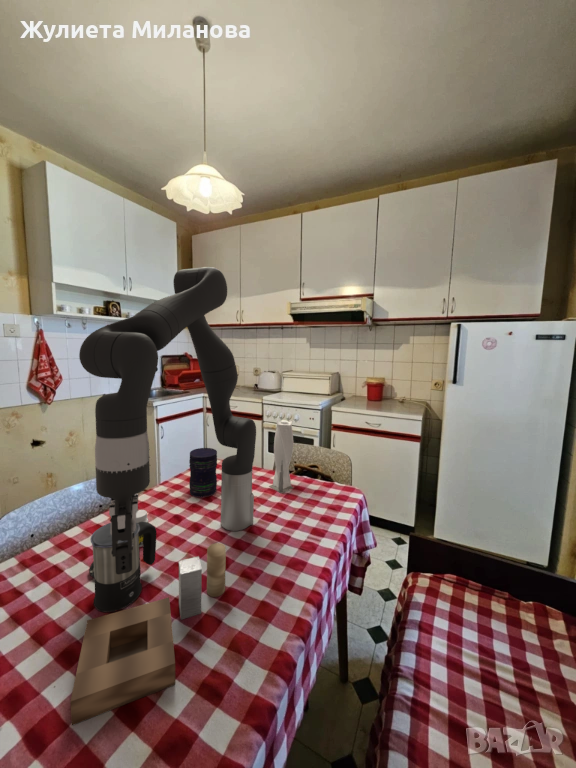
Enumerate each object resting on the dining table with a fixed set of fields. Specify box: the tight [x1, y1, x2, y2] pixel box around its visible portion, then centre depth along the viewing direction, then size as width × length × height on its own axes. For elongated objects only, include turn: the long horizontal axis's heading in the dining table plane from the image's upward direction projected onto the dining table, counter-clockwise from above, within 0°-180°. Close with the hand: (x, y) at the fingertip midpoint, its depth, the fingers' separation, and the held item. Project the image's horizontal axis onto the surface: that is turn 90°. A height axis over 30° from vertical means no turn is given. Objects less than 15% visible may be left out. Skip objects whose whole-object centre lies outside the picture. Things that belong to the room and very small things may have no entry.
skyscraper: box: [268, 415, 295, 494], centre depth 120 cm, size 8×8×28 cm
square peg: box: [178, 555, 203, 621], centre depth 64 cm, size 4×4×10 cm
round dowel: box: [206, 542, 227, 598], centre depth 69 cm, size 4×4×10 cm
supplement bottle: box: [136, 509, 149, 548], centre depth 84 cm, size 5×5×8 cm
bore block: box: [69, 596, 176, 726], centre depth 53 cm, size 14×14×4 cm
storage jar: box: [188, 447, 218, 498], centre depth 114 cm, size 10×10×15 cm
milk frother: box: [88, 521, 157, 613], centre depth 69 cm, size 14×16×15 cm
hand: (125, 554), depth 51 cm, fingers open, 8 cm apart
